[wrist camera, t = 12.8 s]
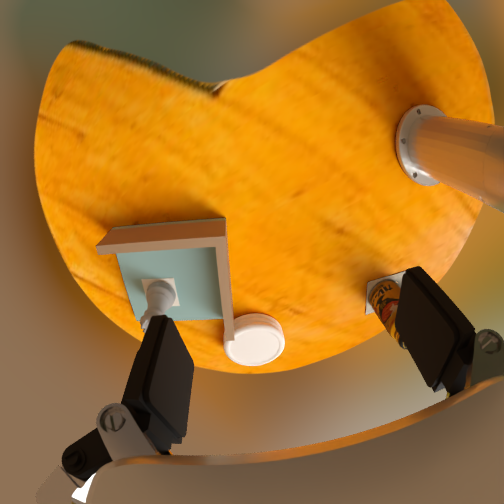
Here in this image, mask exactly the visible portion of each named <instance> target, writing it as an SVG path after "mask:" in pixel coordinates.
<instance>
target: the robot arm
mask: <svg viewBox="0 0 504 504" xmlns="http://www.w3.org/2000/svg"><path fill="white" fill-rule="evenodd" d="M396 152H397V157H398V160H399V163H400V165H401V167H402V169H403V171H404V172H405V174H406V175H407V176H408V177H409V178H410V179H411V180H413V181H414V182H416V183H418V184H421V185H424V186H432V185H436V184H438V183H440V182H441V183H444V184H446V185H448V186H451V187H453V188H455V189H457V190H459V191H461V192H464V193H466V194H468V195H470V196H472V197H474V198H476V199H478V200H480V201H482V202H484V203H486V204H487V205H489V206H492V207H493V208H495V209H497V210H499V211H501V212H503V213H504V127H501V126H496V125H492V124H487V123H482V122H476V121H471V120H464V119H458V118H450V117H447V116H446V115H445V114H444V113H443V112H442V111H440V110H439V109H438V108H436V107H434V106H431V105H417V106H414V107H412V108H410V109H409V110H408V111H407V112H406V113H405V114H404V115H403V117H402V118H401V120H400V123H399V125H398V128H397V132H396ZM395 328H396V330H397V332H398V334H399V335H400V337H401V339H402V341H403V342H404V344H405V346H406V347H407V349H408V351H409V353H410V354H411V356H412V358H413V360H414V361H415V363H416V365H417V367H418V369H419V371H420V372H421V374H422V376H423V378H424V380H425V382H426V384H427V386H428V387H432V389H433V391H434V392H437V391H439V390H441V389H443V388H446V391H447V395H446V399H445V400H443V401H441V402H439V403H436V404H434V405H432V406H430V407H428V408H425V409H423V410H421V411H419V412H416V413H414V414H411V415H409V416H406V417H404V418H401V419H399V420H396V421H393V422H391V423H388V424H385V425H382V426H379V427H376V428H373V429H370V430H367V431H364V432H360V433H357V434H353V435H350V436H346V437H342V438H338V439H334V440H330V441H326V442H322V443H317V444H312V445H307V446H301V447H295V448H289V449H283V450H275V451H268V452H260V453H248V454H234V455H206V456H183V455H174V454H173V453H172V452H171V451H170V449H171V443H175V444H181V443H182V437H185V435H186V431H187V422H188V413H189V404H190V395H191V388H192V379H193V372H194V363H193V360H192V358H191V356H190V354H189V352H188V350H187V348H186V346H185V344H184V342H183V340H182V338H181V336H180V334H179V332H178V330H177V328H176V326H175V324H174V321H173V319H172V318H168V316H167V315H165V314H164V315H156V316H152V317H151V319H150V321H149V324H148V327H147V330H146V332H145V335H144V338H143V341H142V344H141V347H140V349H139V351H138V352H137V354H136V357H135V360H134V363H133V366H132V369H131V372H130V375H129V378H128V382H127V385H126V388H125V392H124V395H123V398H122V401H121V404H119V403H112V404H109V405H107V406H105V407H104V408H103V409H102V410H101V411H100V412H99V414H98V416H97V419H96V424H97V428H96V429H94V430H93V431H91V432H90V433H88V434H87V435H86V436H84V437H82V438H81V439H79V440H78V441H76V442H75V443H73V444H72V445H70V446H69V447H68V448H66V450H65V451H64V453H63V455H62V467H61V466H59V465H58V466H57V467H56V469H55V470H54V471H53V472H52V473H51V475H50V476H49V477H48V478H47V479H46V481H45V482H44V483H43V484H42V485H41V487H40V488H39V489H38V491H37V493H36V500H37V503H38V504H504V340H503V338H502V337H501V336H500V335H499V334H498V333H497V332H495V331H494V330H491V329H484V330H481V331H479V332H478V333H477V334H476V333H475V331H474V330H475V328H474V327H473V325H472V324H471V323H470V322H469V320H468V319H467V318H466V317H465V315H464V314H463V313H462V312H461V311H460V310H459V308H458V307H457V306H456V305H455V304H454V303H453V301H452V300H451V299H450V298H449V297H448V296H447V295H446V293H445V292H444V291H443V290H442V289H441V288H440V287H439V286H438V285H437V284H436V282H435V281H434V280H433V279H432V278H431V277H430V276H429V275H428V274H427V273H426V272H425V271H424V270H423V269H422V268H421V267H420V266H417V267H413V268H409V269H407V270H406V272H405V273H404V274H403V276H402V283H401V289H400V295H399V301H398V307H397V312H396V317H395Z"/></svg>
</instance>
